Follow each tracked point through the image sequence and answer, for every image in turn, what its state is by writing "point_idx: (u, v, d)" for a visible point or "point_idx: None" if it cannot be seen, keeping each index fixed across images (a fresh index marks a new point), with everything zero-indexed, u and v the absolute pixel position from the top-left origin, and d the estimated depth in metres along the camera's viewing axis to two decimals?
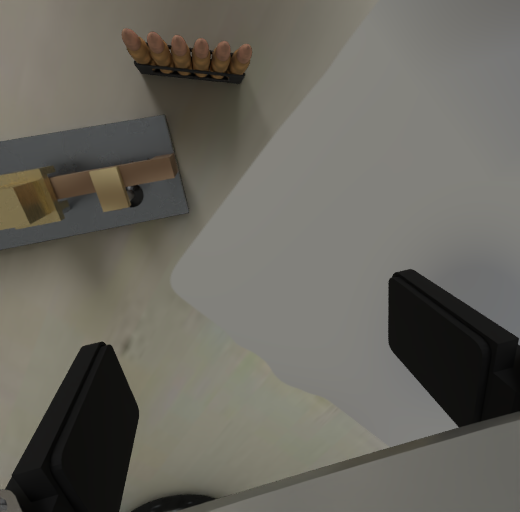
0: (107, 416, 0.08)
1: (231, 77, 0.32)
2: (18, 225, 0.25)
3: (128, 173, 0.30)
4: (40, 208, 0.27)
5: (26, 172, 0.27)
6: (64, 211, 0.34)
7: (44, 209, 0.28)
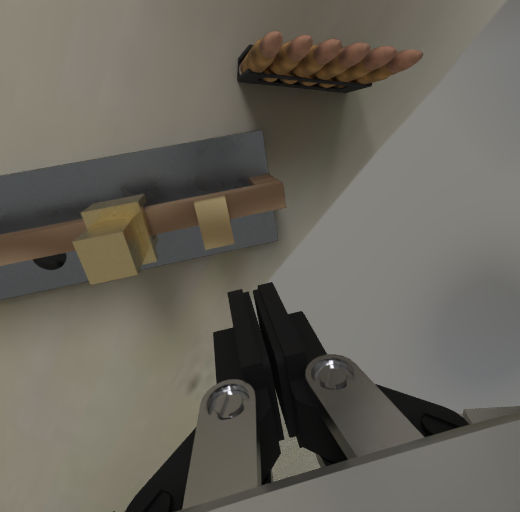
0: None
1: (351, 87, 0.27)
2: (124, 276, 0.20)
3: (234, 203, 0.25)
4: (140, 251, 0.22)
5: (123, 206, 0.23)
6: None
7: (143, 250, 0.23)
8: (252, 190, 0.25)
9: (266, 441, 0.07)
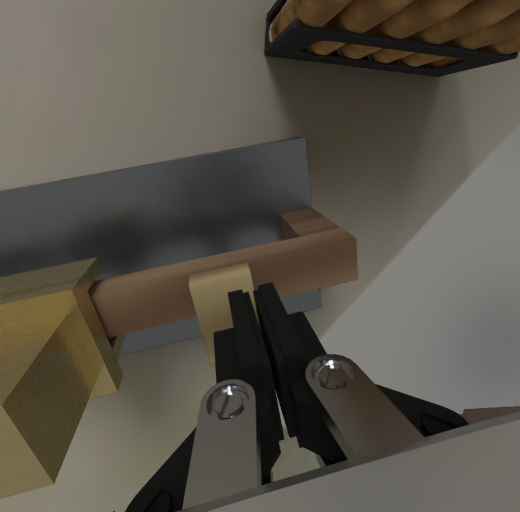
0: None
1: (469, 61, 0.15)
2: (20, 491, 0.09)
3: (266, 276, 0.13)
4: (75, 395, 0.11)
5: (39, 299, 0.11)
6: None
7: (84, 386, 0.11)
8: (299, 252, 0.13)
9: (266, 441, 0.07)
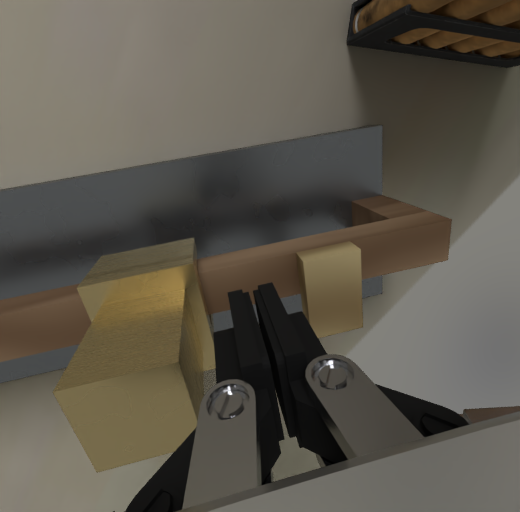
0: None
1: None
2: (174, 449, 0.09)
3: (365, 255, 0.14)
4: (198, 365, 0.11)
5: (162, 273, 0.11)
6: None
7: (200, 358, 0.12)
8: (398, 232, 0.14)
9: (266, 441, 0.07)
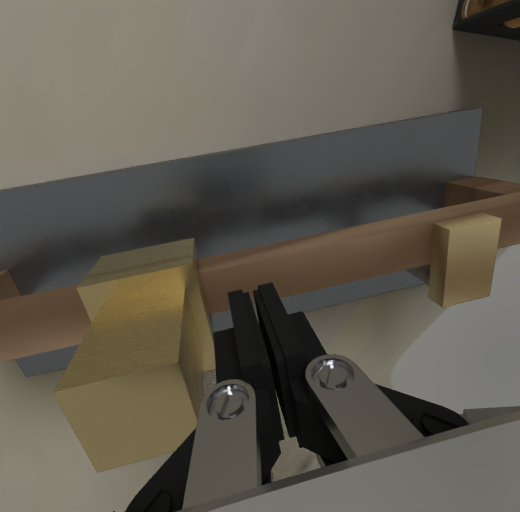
0: None
1: None
2: (174, 449, 0.09)
3: None
4: (199, 365, 0.11)
5: (162, 273, 0.11)
6: None
7: (200, 358, 0.12)
8: None
9: (266, 441, 0.07)
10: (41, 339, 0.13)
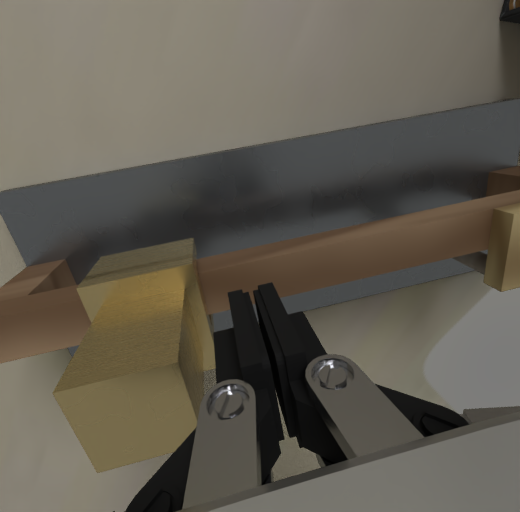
0: None
1: None
2: (174, 449, 0.09)
3: None
4: (198, 365, 0.11)
5: (162, 273, 0.11)
6: None
7: (200, 358, 0.12)
8: None
9: (266, 441, 0.07)
10: None
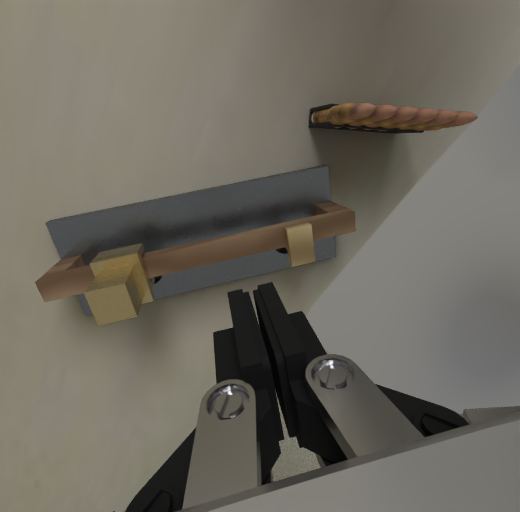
0: None
1: None
2: (125, 318, 0.25)
3: (315, 228, 0.31)
4: (139, 294, 0.27)
5: (124, 257, 0.27)
6: None
7: (141, 293, 0.27)
8: (330, 217, 0.31)
9: (266, 441, 0.07)
10: None
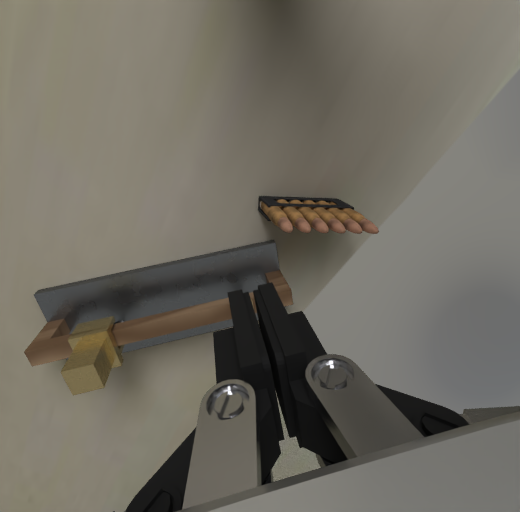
0: None
1: None
2: (95, 389, 0.31)
3: None
4: (108, 365, 0.33)
5: (96, 334, 0.33)
6: None
7: (110, 362, 0.34)
8: None
9: (266, 441, 0.07)
10: None
